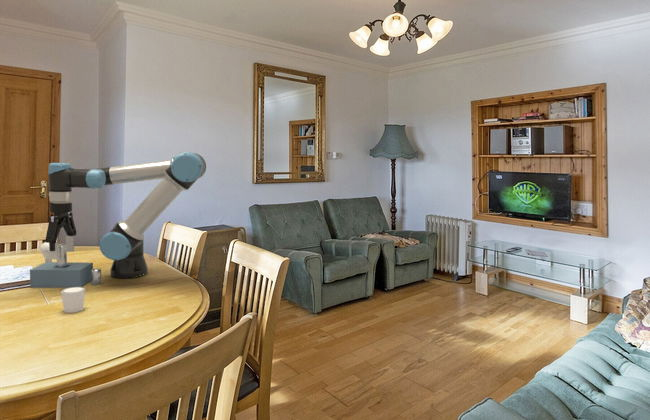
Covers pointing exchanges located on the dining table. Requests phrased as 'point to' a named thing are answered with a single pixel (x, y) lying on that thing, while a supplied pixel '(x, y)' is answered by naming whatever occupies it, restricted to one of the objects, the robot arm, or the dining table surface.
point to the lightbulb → (45, 251)
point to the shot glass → (73, 299)
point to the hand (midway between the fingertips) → (62, 255)
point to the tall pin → (62, 256)
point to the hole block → (60, 275)
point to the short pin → (96, 276)
